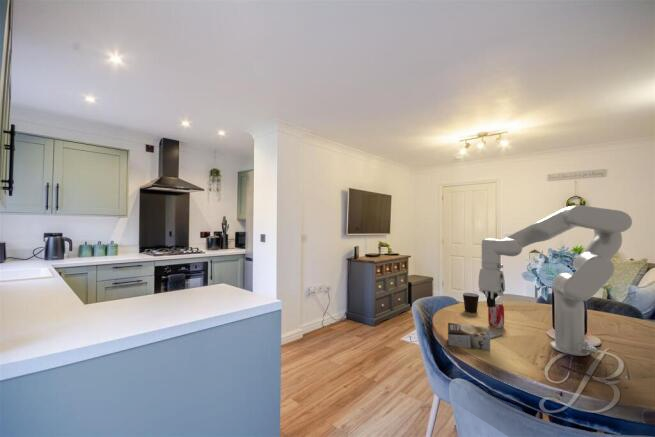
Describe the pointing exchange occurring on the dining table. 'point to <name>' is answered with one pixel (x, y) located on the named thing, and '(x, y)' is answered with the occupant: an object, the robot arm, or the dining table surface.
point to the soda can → (496, 315)
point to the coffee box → (468, 336)
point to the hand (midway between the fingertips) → (491, 306)
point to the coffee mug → (470, 302)
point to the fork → (589, 375)
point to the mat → (492, 334)
